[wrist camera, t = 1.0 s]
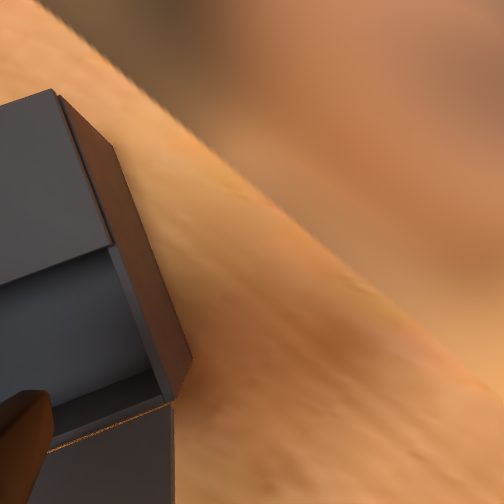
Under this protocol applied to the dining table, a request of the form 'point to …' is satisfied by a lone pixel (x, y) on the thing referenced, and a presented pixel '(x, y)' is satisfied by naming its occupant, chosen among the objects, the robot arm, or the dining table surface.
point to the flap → (113, 466)
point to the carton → (78, 276)
